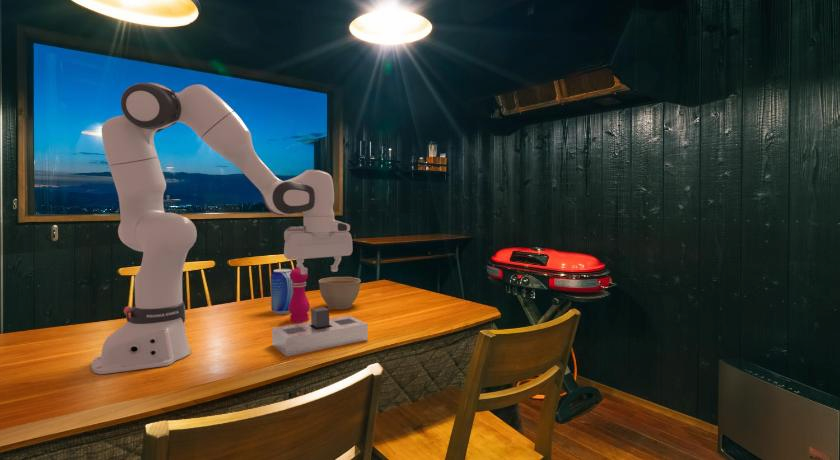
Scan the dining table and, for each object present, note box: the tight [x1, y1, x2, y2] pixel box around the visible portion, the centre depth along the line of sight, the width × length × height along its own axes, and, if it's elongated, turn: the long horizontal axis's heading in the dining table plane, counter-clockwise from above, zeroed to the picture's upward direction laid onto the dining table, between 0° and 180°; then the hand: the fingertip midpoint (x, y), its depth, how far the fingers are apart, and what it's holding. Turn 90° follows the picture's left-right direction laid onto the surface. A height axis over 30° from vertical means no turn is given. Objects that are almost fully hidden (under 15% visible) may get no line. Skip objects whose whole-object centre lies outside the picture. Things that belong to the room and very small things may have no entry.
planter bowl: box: [318, 276, 362, 310], centre depth 178 cm, size 16×16×11 cm
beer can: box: [270, 268, 293, 315], centre depth 170 cm, size 8×8×16 cm
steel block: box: [310, 306, 330, 330], centre depth 135 cm, size 4×4×10 cm
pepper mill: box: [289, 263, 311, 323], centre depth 159 cm, size 7×7×20 cm
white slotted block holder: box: [271, 315, 369, 357], centre depth 135 cm, size 25×12×5 cm, turn 126°
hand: (319, 272), depth 133 cm, fingers open, 8 cm apart
